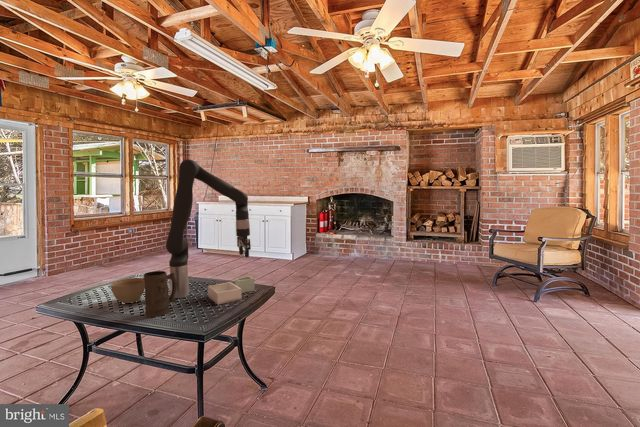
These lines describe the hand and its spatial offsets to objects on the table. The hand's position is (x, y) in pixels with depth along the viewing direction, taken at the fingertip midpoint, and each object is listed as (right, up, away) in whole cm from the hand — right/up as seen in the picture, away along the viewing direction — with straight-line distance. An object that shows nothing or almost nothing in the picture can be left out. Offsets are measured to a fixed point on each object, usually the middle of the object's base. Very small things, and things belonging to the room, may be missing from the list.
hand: (244, 255), depth 198 cm
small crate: (0, -20, +2) cm, 20 cm away
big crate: (-8, -21, -11) cm, 25 cm away
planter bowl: (-58, -23, -12) cm, 64 cm away
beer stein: (-34, -24, -28) cm, 50 cm away
